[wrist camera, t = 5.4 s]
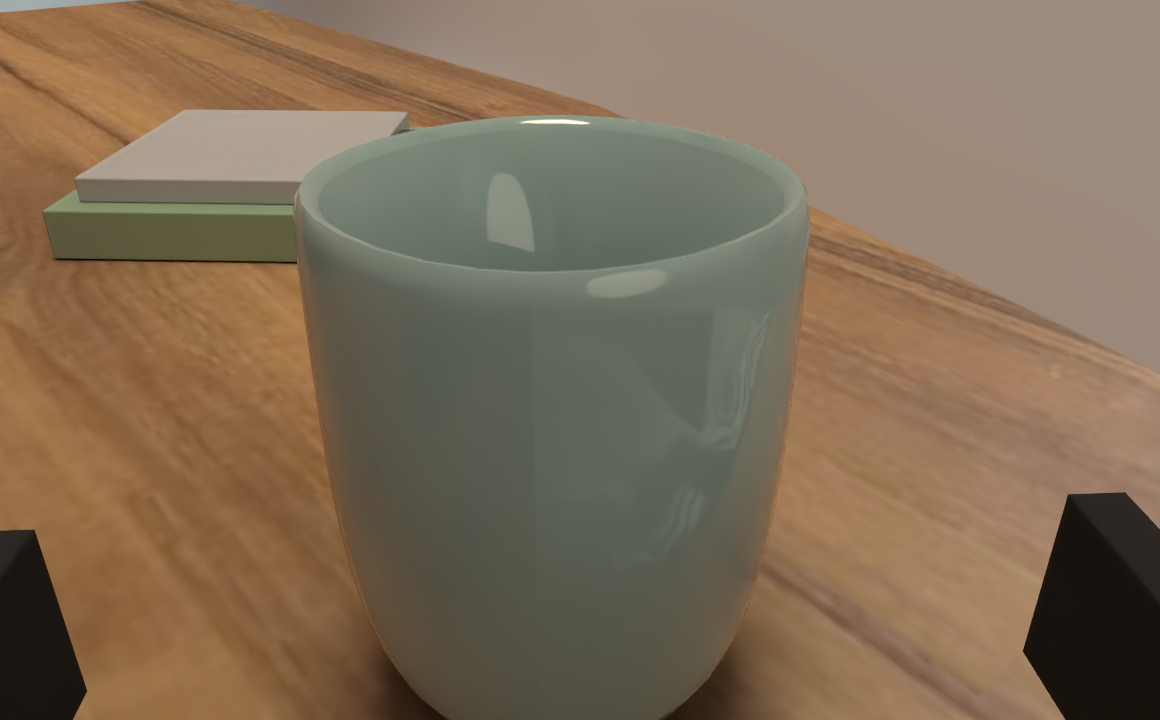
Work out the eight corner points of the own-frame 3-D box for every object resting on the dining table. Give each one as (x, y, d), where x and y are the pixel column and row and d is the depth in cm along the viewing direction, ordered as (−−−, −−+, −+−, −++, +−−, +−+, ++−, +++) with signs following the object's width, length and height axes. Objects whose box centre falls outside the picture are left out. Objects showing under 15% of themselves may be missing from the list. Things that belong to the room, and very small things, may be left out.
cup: (832, 665, 20) (912, 181, 15) (537, 924, 15) (517, 336, 10) (571, 495, 25) (569, 94, 20) (288, 649, 20) (199, 172, 15)
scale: (456, 166, 49) (452, 106, 48) (407, 264, 38) (400, 190, 37) (183, 162, 50) (172, 104, 48) (53, 259, 38) (33, 185, 37)
